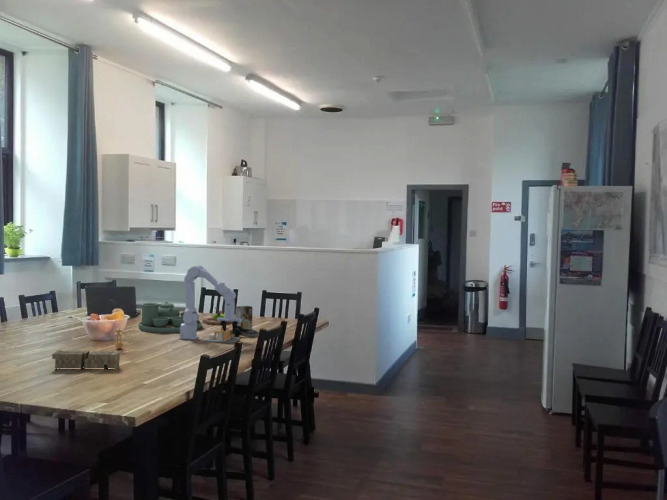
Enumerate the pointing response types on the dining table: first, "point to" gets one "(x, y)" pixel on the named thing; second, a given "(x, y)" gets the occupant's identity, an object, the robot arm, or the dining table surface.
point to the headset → (239, 331)
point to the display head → (221, 338)
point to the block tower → (86, 359)
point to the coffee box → (244, 316)
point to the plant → (215, 318)
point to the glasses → (225, 333)
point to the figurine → (118, 344)
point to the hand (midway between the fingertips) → (229, 333)
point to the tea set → (162, 318)
